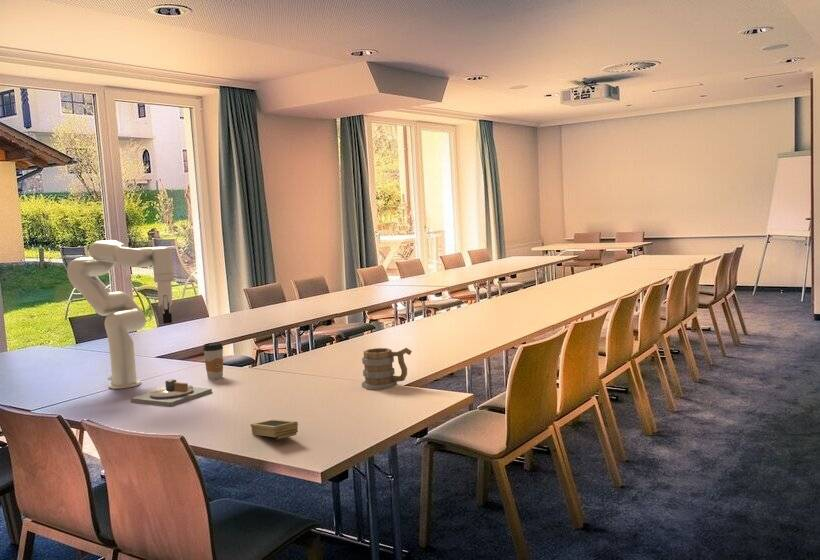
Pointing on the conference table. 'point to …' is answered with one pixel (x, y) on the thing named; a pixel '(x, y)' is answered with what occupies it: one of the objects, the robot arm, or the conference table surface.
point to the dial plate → (171, 398)
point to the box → (275, 428)
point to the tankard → (382, 368)
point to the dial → (171, 390)
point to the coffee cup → (214, 360)
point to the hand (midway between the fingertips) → (167, 322)
